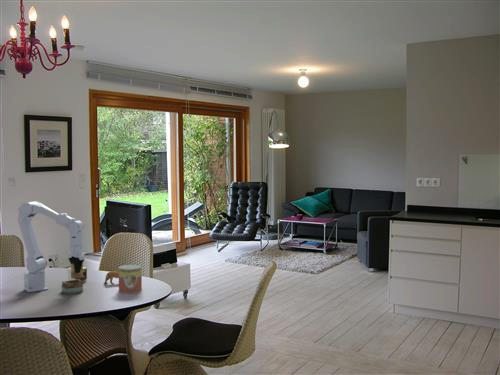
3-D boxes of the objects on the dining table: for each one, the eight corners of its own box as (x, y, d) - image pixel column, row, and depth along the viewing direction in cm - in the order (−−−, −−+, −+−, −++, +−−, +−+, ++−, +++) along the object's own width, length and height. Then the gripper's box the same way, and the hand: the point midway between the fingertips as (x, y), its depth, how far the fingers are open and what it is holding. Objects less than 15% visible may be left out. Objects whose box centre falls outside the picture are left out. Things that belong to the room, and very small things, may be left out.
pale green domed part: (66, 295, 246) (66, 290, 246) (58, 291, 254) (58, 286, 254) (86, 291, 253) (86, 286, 253) (78, 287, 260) (78, 283, 260)
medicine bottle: (75, 283, 269) (75, 260, 269) (67, 281, 274) (67, 259, 273) (87, 280, 275) (86, 258, 274) (79, 279, 279) (78, 257, 279)
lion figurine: (127, 280, 277) (127, 263, 277) (131, 282, 273) (131, 265, 273) (101, 284, 268) (101, 267, 267) (105, 286, 264) (105, 269, 263)
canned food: (118, 294, 249) (118, 269, 248) (118, 288, 260) (118, 265, 259) (142, 292, 252) (142, 268, 251) (141, 287, 263) (141, 264, 262)
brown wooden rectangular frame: (66, 288, 248) (66, 283, 248) (62, 286, 253) (62, 281, 253) (82, 286, 254) (82, 281, 254) (78, 284, 258) (78, 279, 258)
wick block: (73, 278, 252) (72, 264, 252) (71, 277, 254) (70, 263, 254) (82, 277, 255) (82, 263, 255) (80, 276, 257) (80, 262, 257)
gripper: (90, 246, 251) (90, 273, 251) (78, 242, 262) (78, 268, 262) (76, 247, 246) (76, 275, 247) (64, 243, 257) (64, 270, 258)
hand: (76, 272), depth 254 cm, fingers closed on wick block, 2 cm apart
